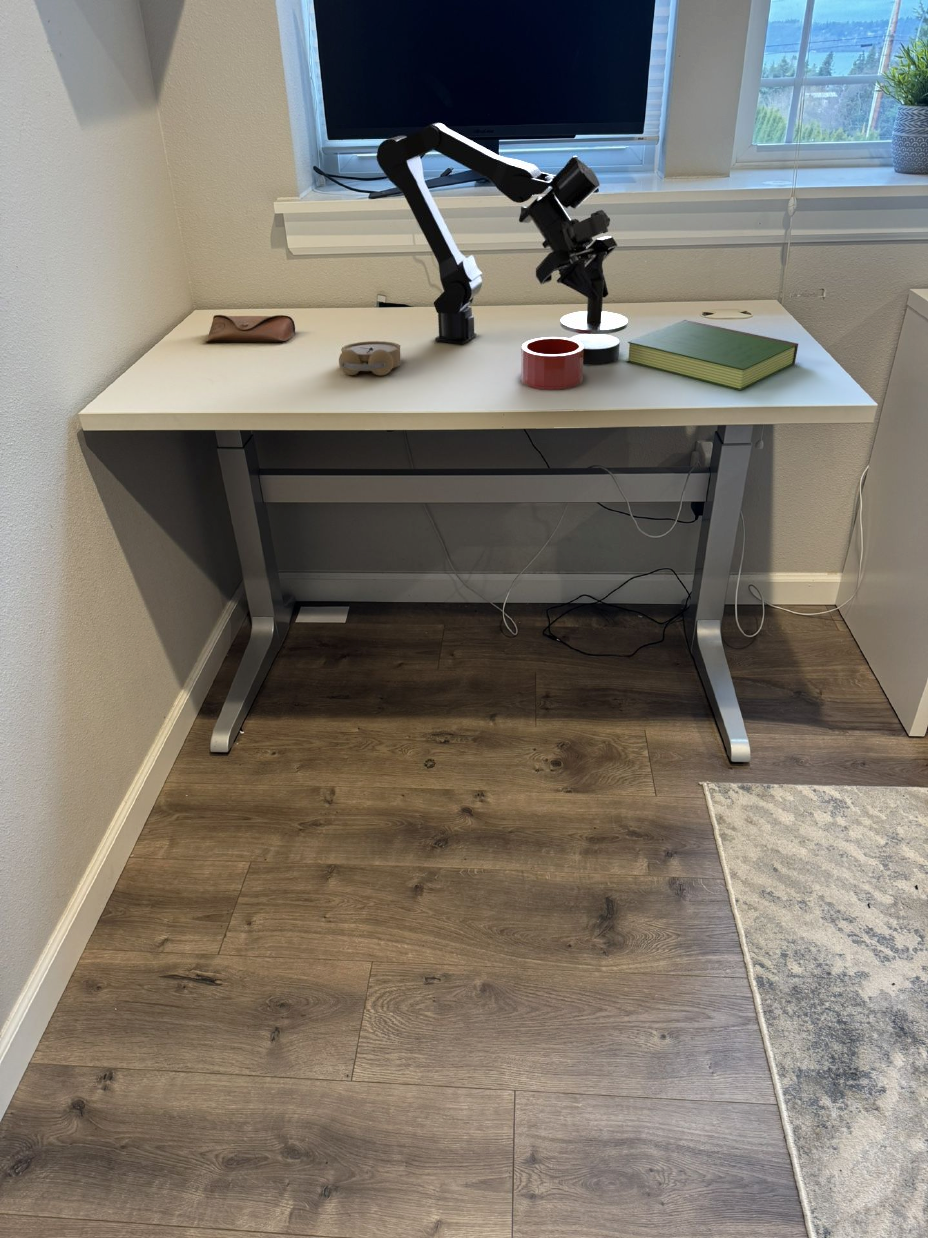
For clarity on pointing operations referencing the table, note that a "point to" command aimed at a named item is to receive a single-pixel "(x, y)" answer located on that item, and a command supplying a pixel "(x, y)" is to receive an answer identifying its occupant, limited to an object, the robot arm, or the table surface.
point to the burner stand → (598, 348)
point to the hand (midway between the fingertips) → (601, 297)
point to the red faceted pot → (552, 363)
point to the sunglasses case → (251, 329)
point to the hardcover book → (712, 354)
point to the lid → (594, 316)
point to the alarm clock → (370, 357)
